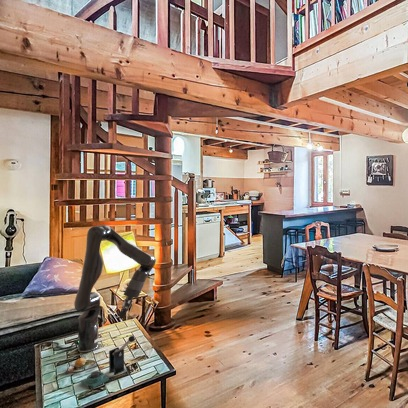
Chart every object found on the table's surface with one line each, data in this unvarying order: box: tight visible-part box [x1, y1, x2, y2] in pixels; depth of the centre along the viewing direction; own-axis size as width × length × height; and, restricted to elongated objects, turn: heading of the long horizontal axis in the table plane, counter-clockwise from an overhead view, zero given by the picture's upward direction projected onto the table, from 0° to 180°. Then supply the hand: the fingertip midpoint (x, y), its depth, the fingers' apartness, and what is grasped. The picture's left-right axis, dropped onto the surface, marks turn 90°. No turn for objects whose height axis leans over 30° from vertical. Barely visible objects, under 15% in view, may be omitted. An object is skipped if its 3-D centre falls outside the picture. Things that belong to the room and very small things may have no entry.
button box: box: [80, 371, 110, 389], centre depth 155 cm, size 10×7×4 cm
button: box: [90, 370, 101, 378], centre depth 155 cm, size 4×4×2 cm
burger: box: [66, 357, 97, 374], centre depth 167 cm, size 12×12×8 cm
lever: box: [112, 335, 136, 356], centre depth 167 cm, size 12×3×3 cm, turn 156°
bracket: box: [108, 346, 125, 376], centre depth 163 cm, size 8×10×13 cm
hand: (120, 317), depth 175 cm, fingers open, 8 cm apart
